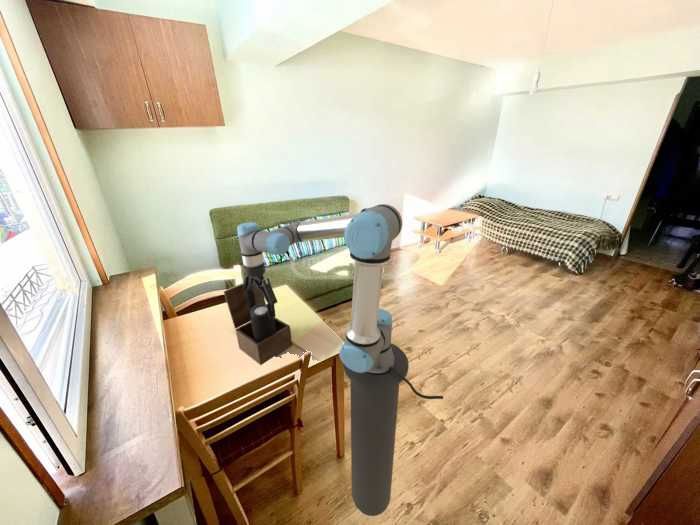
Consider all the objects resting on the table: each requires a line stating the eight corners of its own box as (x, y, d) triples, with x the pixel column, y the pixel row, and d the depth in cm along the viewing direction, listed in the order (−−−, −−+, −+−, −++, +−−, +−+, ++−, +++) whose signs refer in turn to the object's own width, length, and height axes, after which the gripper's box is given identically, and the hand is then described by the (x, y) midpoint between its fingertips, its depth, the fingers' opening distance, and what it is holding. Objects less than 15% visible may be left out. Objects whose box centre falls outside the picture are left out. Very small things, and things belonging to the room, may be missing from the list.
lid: (259, 277, 122) (249, 276, 127) (224, 291, 111) (215, 289, 116) (267, 312, 127) (258, 309, 132) (235, 328, 116) (226, 324, 121)
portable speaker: (262, 337, 124) (255, 301, 115) (281, 340, 122) (276, 304, 113) (252, 351, 117) (243, 313, 108) (272, 354, 115) (265, 317, 106)
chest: (292, 344, 122) (290, 325, 118) (260, 365, 111) (257, 345, 107) (270, 330, 131) (267, 312, 127) (239, 348, 120) (235, 329, 116)
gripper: (282, 268, 100) (289, 318, 108) (245, 254, 115) (253, 298, 123) (265, 275, 95) (273, 327, 103) (227, 259, 110) (237, 305, 118)
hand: (262, 311), depth 113 cm, fingers open, 13 cm apart
